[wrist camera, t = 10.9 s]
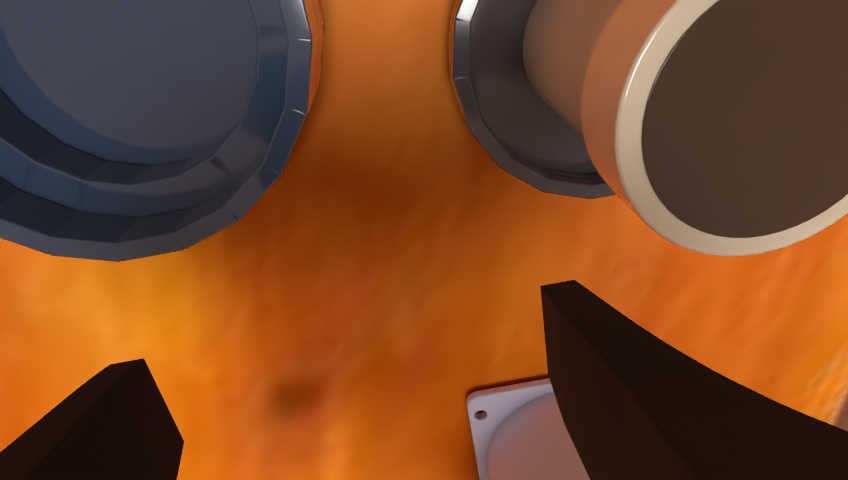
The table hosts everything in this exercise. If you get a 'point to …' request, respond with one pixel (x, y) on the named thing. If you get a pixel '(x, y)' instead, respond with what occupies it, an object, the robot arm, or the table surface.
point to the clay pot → (705, 111)
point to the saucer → (514, 101)
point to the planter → (147, 118)
